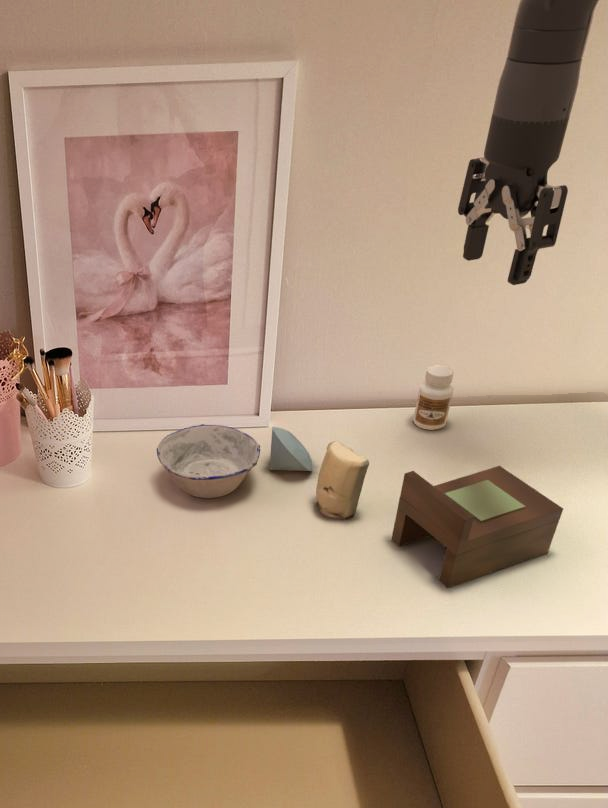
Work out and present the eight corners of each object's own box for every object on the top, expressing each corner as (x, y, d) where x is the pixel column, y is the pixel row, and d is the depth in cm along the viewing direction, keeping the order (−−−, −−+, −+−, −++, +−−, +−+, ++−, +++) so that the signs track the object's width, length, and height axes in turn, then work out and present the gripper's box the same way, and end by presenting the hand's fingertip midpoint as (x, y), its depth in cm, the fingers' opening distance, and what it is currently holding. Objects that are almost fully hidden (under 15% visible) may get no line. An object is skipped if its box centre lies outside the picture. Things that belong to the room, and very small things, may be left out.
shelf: (487, 508, 105) (506, 442, 99) (547, 553, 98) (572, 484, 92) (391, 539, 101) (404, 473, 95) (447, 588, 94) (465, 519, 88)
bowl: (228, 446, 118) (230, 414, 115) (276, 493, 109) (279, 459, 106) (141, 469, 115) (140, 436, 112) (184, 519, 106) (184, 485, 103)
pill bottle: (412, 429, 119) (423, 376, 114) (412, 414, 123) (423, 361, 117) (446, 432, 119) (458, 379, 113) (445, 416, 122) (457, 364, 116)
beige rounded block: (365, 502, 107) (374, 444, 102) (357, 525, 104) (366, 467, 98) (318, 494, 109) (326, 437, 103) (309, 517, 105) (316, 459, 100)
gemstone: (254, 463, 109) (284, 435, 107) (245, 439, 115) (274, 412, 113) (294, 500, 112) (324, 474, 110) (283, 475, 118) (311, 450, 116)
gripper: (611, 119, 85) (562, 287, 96) (519, 92, 95) (484, 246, 106) (545, 129, 84) (503, 297, 95) (459, 100, 94) (430, 255, 105)
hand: (493, 270), depth 100 cm, fingers open, 8 cm apart
